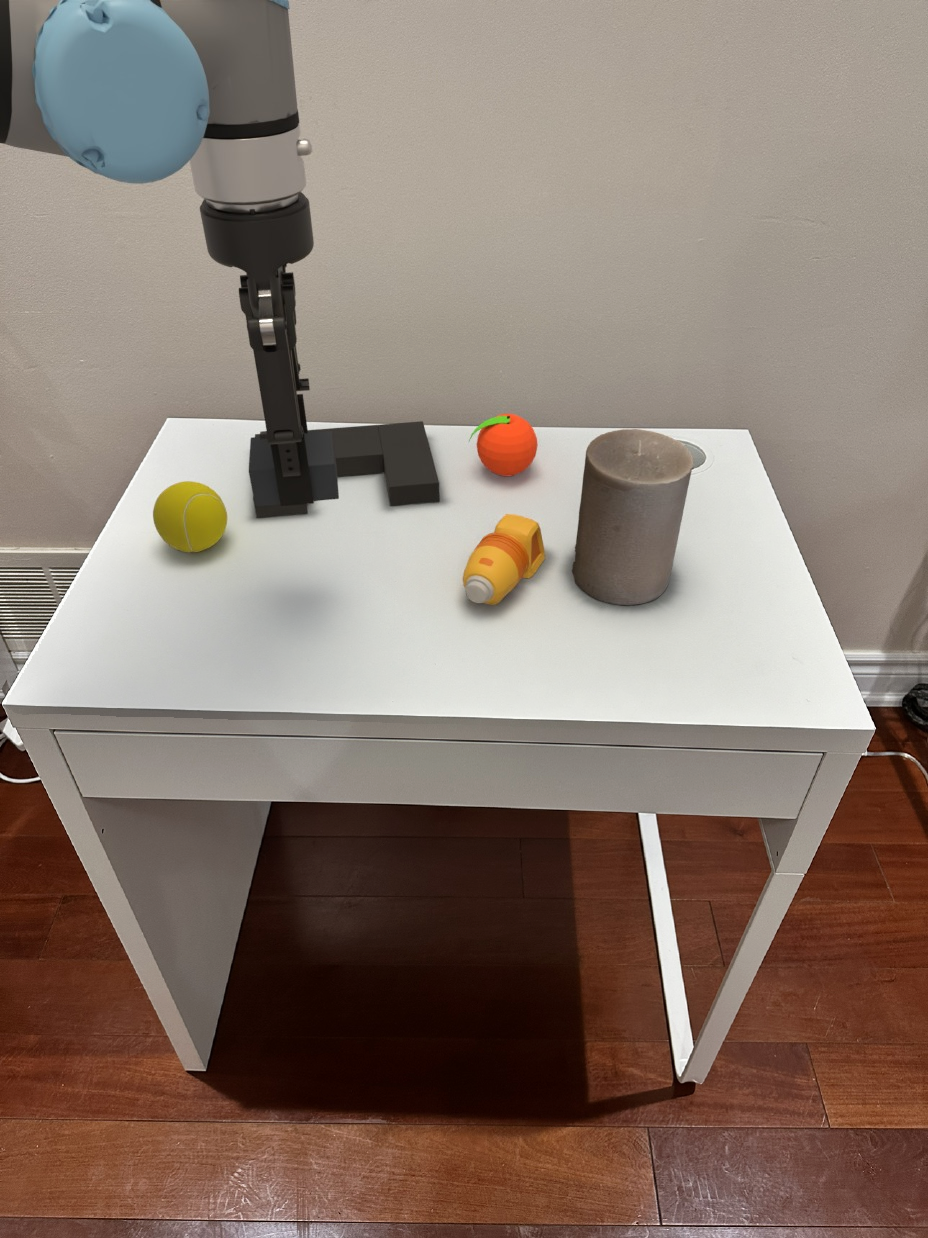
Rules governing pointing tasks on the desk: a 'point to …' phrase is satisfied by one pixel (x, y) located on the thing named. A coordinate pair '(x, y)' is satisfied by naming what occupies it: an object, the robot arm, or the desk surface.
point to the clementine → (506, 444)
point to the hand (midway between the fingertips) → (296, 482)
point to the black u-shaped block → (380, 463)
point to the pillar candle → (630, 515)
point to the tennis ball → (190, 516)
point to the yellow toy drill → (503, 559)
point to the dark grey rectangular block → (319, 467)
